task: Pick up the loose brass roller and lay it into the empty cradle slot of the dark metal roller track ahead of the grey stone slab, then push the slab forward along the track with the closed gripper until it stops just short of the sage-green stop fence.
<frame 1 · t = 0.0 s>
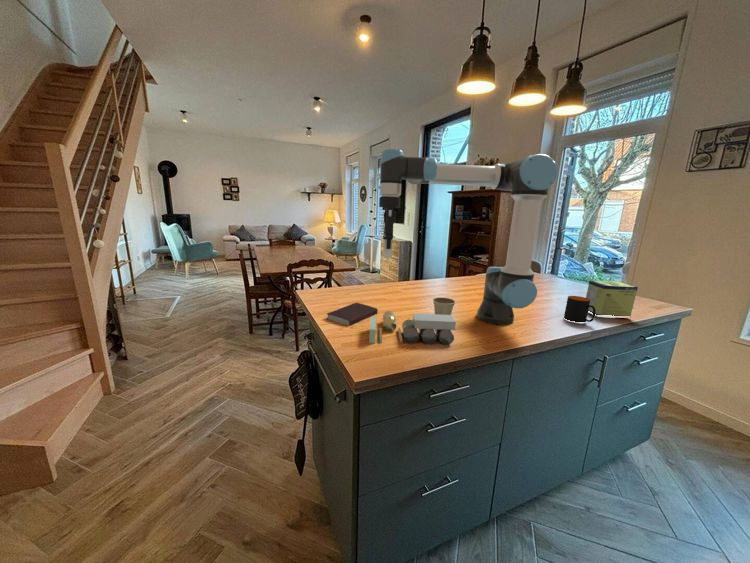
hand: (387, 255, 113), 28 cm above the table, fingers open, 13 cm apart
flower pot: (442, 320, 128), on the table
stop fence: (372, 336, 109), on the table
protein box: (605, 315, 144), on the table
slab: (432, 325, 108), point 5 cm above the table, touching roller track
roller track: (409, 337, 109), on the table
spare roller: (389, 326, 118), on the table
mug: (578, 322, 133), on the table
book: (352, 317, 128), on the table
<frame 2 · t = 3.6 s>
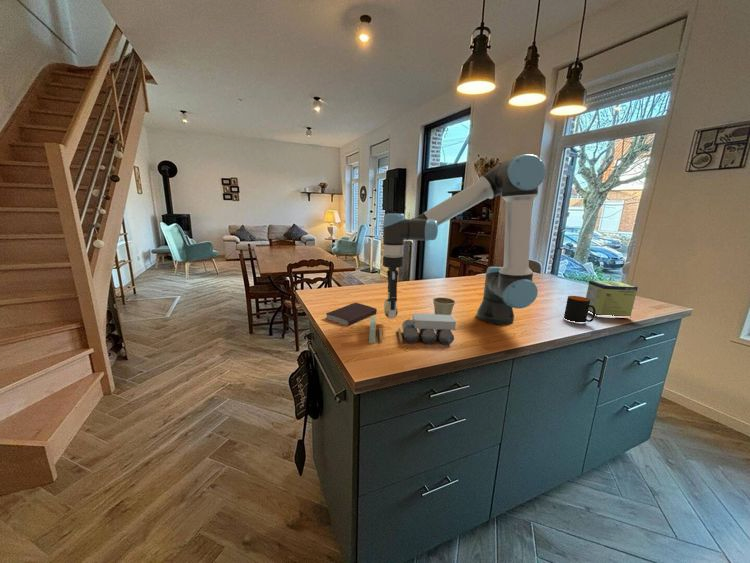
hand: (391, 312, 117), 6 cm above the table, fingers closed on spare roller, 10 cm apart
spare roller: (391, 313, 117), point 5 cm above the table, tilted 16°, touching gripper
when the fingers open (0 cm above the table, at t = 7.4 s): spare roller stays where it is, on the table.
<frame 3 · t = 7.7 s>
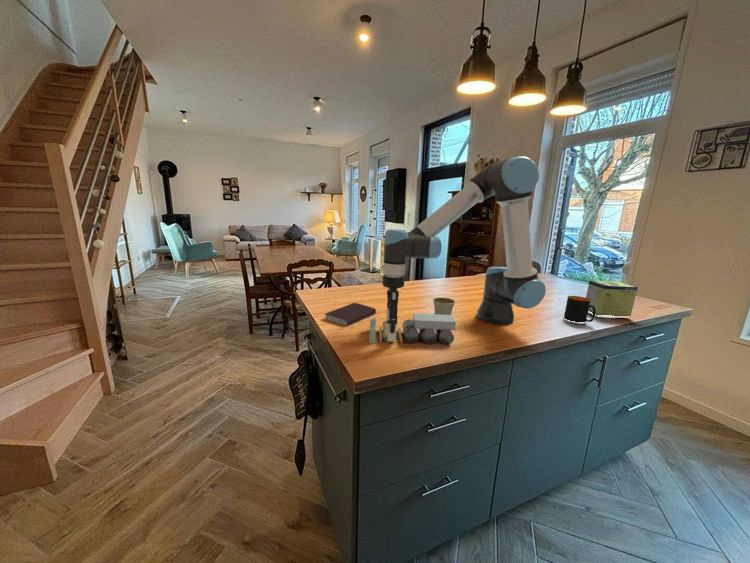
hand: (390, 332, 108), 1 cm above the table, fingers open, 13 cm apart
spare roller: (390, 337, 109), on the table, tilted 16°
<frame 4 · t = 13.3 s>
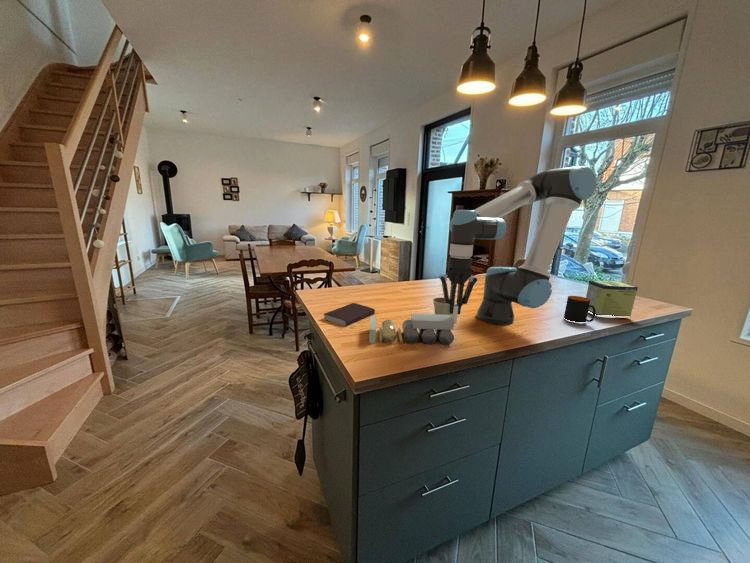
hand: (453, 322, 107), 6 cm above the table, fingers closed
slab: (431, 325, 108), point 5 cm above the table, touching gripper, roller track
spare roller: (390, 336, 109), on the table, tilted 24°
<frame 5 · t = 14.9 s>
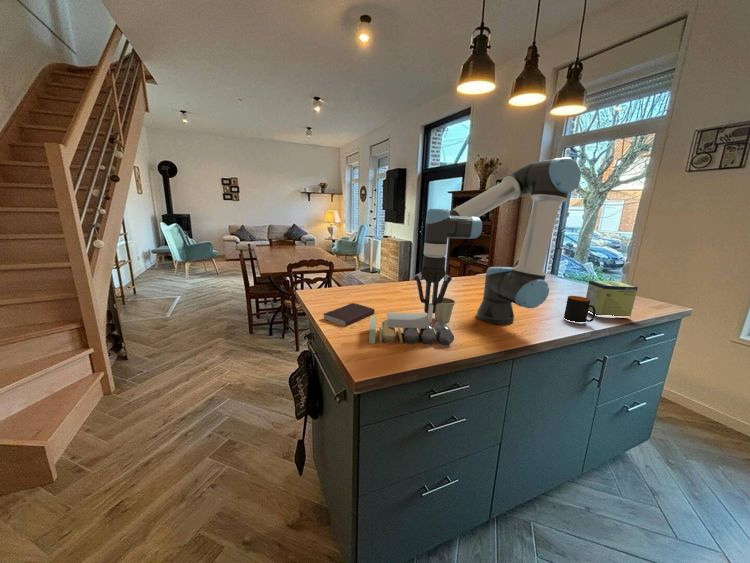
hand: (428, 321, 107), 6 cm above the table, fingers closed
slab: (407, 324, 108), point 5 cm above the table, touching gripper
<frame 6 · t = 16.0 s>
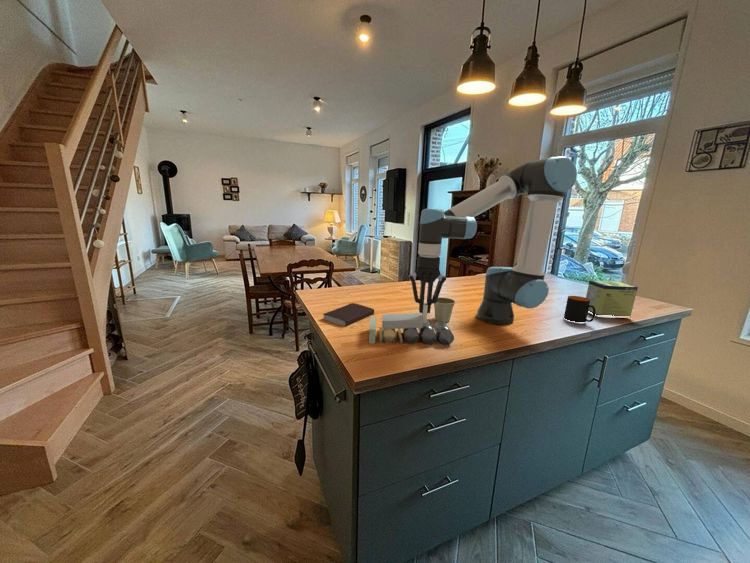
hand: (423, 321, 107), 6 cm above the table, fingers closed
slab: (401, 324, 108), point 5 cm above the table, touching roller track, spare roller
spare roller: (392, 337, 109), on the table, tilted 34°, touching slab
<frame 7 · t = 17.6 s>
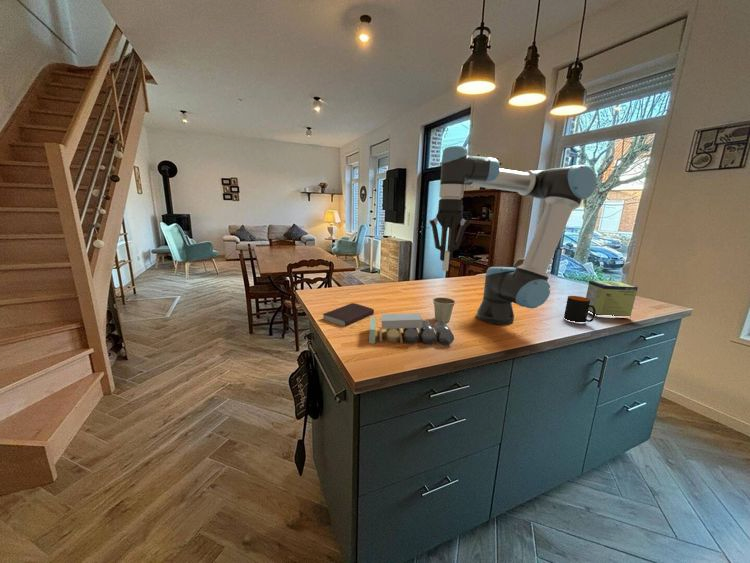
hand: (444, 270, 103), 25 cm above the table, fingers closed
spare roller: (398, 333, 109), point 1 cm above the table, tilted 68°, touching slab
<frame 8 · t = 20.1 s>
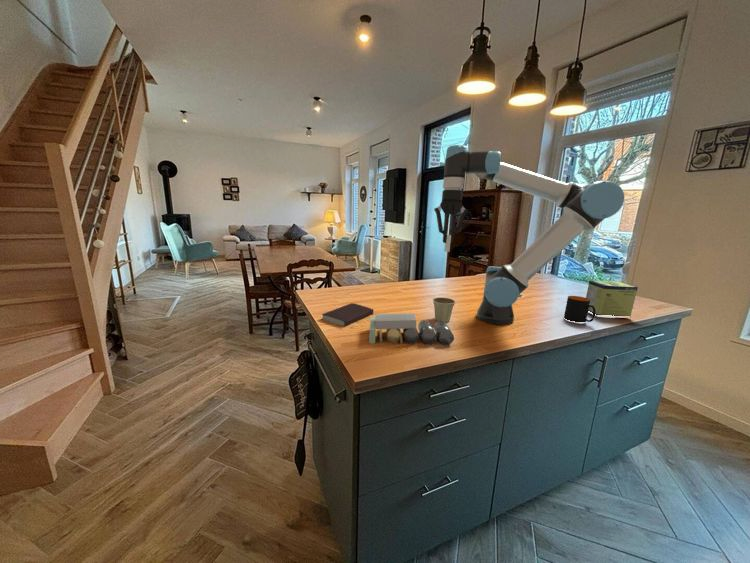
hand: (446, 251, 121), 29 cm above the table, fingers closed
slab: (395, 325, 108), point 5 cm above the table, touching roller track, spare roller
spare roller: (399, 328, 108), point 3 cm above the table, tilted 116°, touching slab
at the end: slab inside the target area (2.0 cm from its centre), point 4.7 cm above the table; slab tilted 3°; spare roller inside the target area (3.0 cm from its centre), point 3.4 cm above the table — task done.
